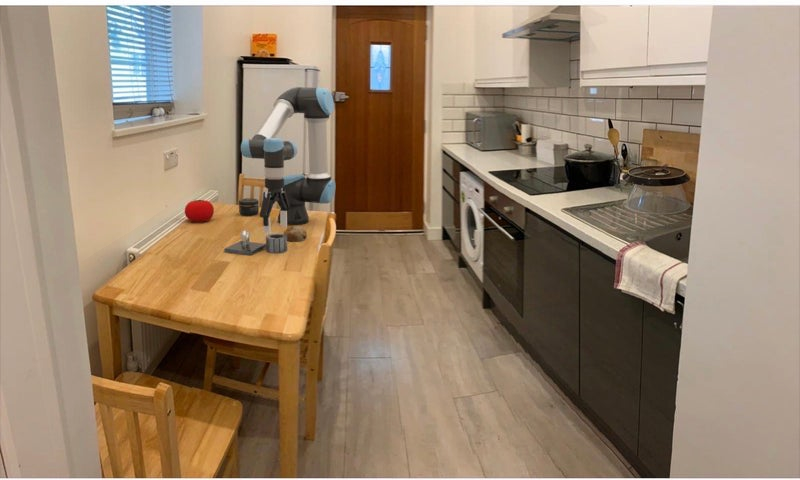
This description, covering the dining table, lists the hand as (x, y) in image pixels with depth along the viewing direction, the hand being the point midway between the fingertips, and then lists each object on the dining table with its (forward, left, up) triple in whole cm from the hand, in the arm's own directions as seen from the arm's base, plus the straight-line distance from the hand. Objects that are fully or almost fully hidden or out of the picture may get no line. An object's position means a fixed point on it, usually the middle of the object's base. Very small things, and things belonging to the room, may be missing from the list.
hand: (275, 229), depth 221 cm
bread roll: (-18, -1, -9) cm, 21 cm away
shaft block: (+4, -12, -9) cm, 15 cm away
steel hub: (0, 0, -9) cm, 9 cm away
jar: (-51, -44, -9) cm, 68 cm away
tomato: (-30, -58, -9) cm, 66 cm away
